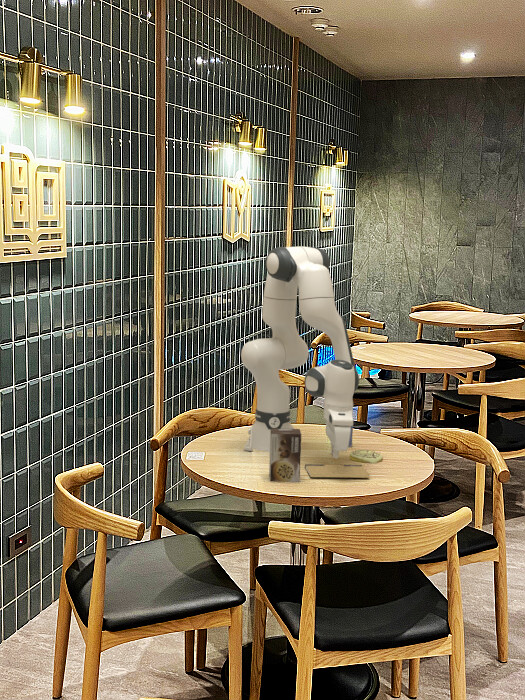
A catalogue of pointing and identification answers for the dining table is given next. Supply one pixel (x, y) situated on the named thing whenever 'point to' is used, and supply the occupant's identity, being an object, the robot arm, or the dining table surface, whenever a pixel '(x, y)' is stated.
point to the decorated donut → (365, 456)
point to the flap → (337, 471)
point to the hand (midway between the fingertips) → (334, 456)
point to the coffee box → (285, 455)
